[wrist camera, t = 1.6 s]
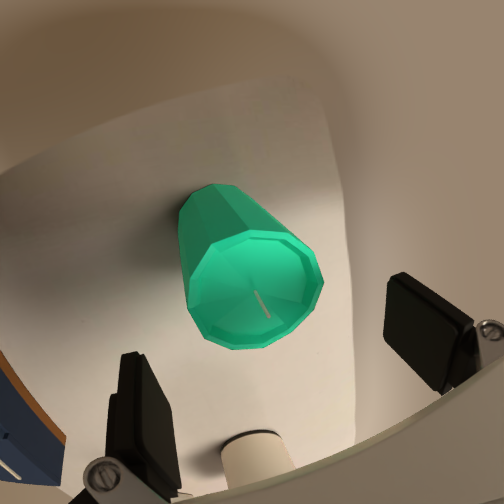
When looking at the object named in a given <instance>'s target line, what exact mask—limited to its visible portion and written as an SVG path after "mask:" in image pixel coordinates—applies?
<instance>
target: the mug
mask: <svg viewBox="0 0 504 504" xmlns="http://www.w3.org/2000/svg"><path fill="white" fill-rule="evenodd" d="M220 455H221V459H222V463H223V468H224V472H225V476H226V480H227V485H228V489H232V488H236V487H240V486H244V485H247V484H251V483H254V482H258V481H261V480H264V479H268V478H271V477H274V476H277V475H281V474H284V473H287V472H289V471H292V470H295V469H296V468H295V466H294V464H293V462H292V460H291V458H290V456H289V454H288V451H287V449H286V447H285V445H284V443H283V441H282V439H281V437H280V436H279V435H278V434H277V433H275V432H273V431H268V430H257V431H250V432H246V433H242V434H240V435H237V436H235V437H233V438H232V439H230V440H228V441H227V442H226V443H225V444H224V445H223V447H222V449H221V453H220Z"/></svg>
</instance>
